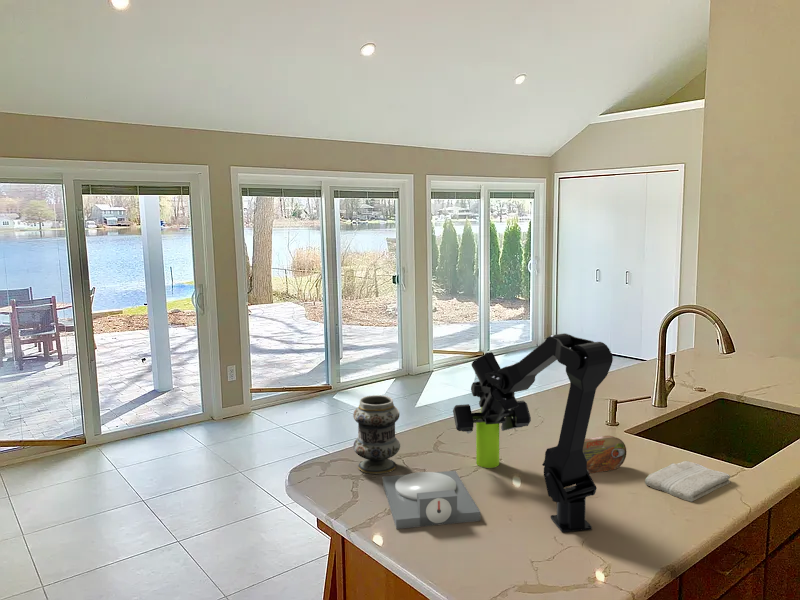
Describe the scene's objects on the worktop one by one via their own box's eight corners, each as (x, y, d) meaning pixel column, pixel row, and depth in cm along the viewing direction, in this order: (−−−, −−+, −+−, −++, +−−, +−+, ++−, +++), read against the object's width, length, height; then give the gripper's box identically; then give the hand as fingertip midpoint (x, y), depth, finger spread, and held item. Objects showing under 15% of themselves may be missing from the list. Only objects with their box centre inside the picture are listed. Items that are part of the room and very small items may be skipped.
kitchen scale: (481, 521, 133) (480, 494, 132) (396, 529, 131) (396, 502, 130) (455, 478, 155) (455, 454, 154) (382, 484, 153) (382, 460, 152)
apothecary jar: (402, 475, 158) (400, 405, 155) (354, 477, 157) (351, 407, 154) (399, 456, 170) (397, 391, 167) (354, 458, 169) (352, 393, 166)
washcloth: (732, 484, 150) (733, 471, 150) (692, 505, 140) (692, 492, 139) (685, 468, 160) (685, 456, 159) (643, 487, 149) (644, 475, 149)
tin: (573, 476, 155) (574, 443, 154) (567, 471, 158) (567, 439, 157) (626, 468, 159) (627, 436, 158) (619, 463, 162) (620, 432, 161)
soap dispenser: (469, 465, 163) (469, 390, 160) (485, 457, 168) (484, 384, 165) (488, 471, 159) (488, 394, 156) (503, 462, 164) (503, 388, 161)
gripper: (527, 370, 158) (512, 400, 170) (454, 374, 155) (444, 405, 167) (538, 410, 151) (522, 438, 163) (462, 415, 148) (452, 444, 161)
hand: (485, 430), depth 164 cm, fingers open, 9 cm apart
